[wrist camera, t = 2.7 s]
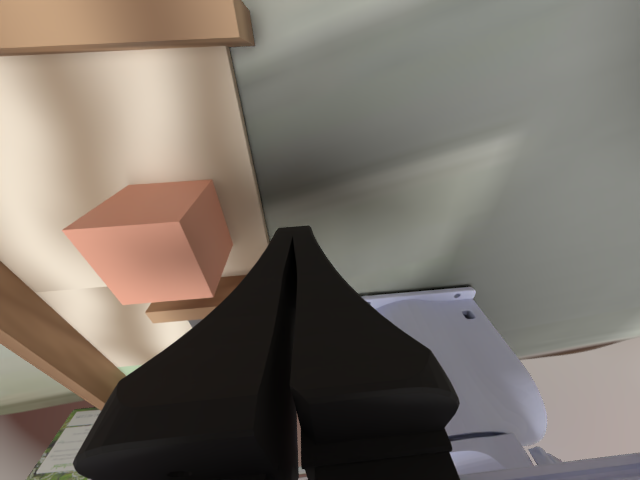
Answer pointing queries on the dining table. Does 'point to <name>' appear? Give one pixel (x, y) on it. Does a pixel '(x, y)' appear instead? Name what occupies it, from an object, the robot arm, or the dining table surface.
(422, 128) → the dining table surface
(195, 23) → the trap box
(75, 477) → the syrup box
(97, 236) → the coral block
